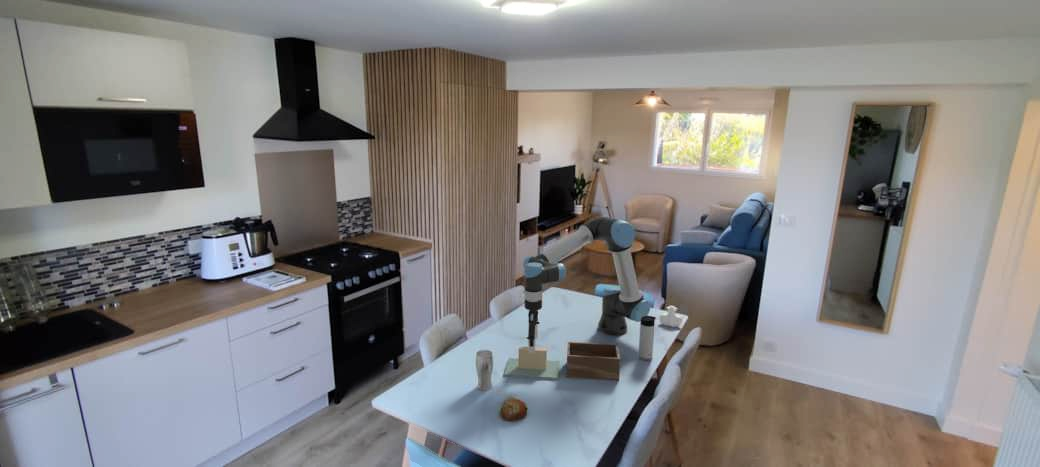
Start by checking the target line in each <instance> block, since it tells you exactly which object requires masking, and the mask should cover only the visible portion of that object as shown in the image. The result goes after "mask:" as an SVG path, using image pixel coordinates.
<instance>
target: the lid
mask: <svg viewBox="0 0 1040 467" xmlns="http://www.w3.org/2000/svg"><path fill="white" fill-rule="evenodd" d="M547 352H548V351H547V347H538V346H537V347H536V346H535V353H529V346H523V345H522V346H518V358H515V357H513V358H512V357H509V358H508V360H507V364H506V366H505V370H504V373H503V377H505V376H511V377H510V378H519V377H521V378H522V379H533V380H534V379H535V380H547V381H548V380H550V381H559V374H558V373H559V371H560V361H559V360H548V359H547Z"/></svg>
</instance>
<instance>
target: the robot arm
mask: <svg viewBox="0 0 1040 467" xmlns="http://www.w3.org/2000/svg"><path fill="white" fill-rule="evenodd" d="M635 238H636V230H635V228H634V226H633V225H632V224H631V223H630V222H628V221H626V220H624V219H623V220H622V219H616V218H615V219H614V218H612V217H608V216H599V217H596V218H593V219H591V220H589V221H587V222H585V223H584V224H581V225H580V226H579V228H578V230H576V231H574V232H573V233H571V234H570V235H568V236H566V237H565V238H563V239H561V240H560V241H558V242H557V243H555V244H553V245H552V246H550V247H549V248H547V249H545V250H544V251H542V252H541V253H539V254H537V255H536V256H534V255H533V256H532V255H529V256H526V257H525V258H524V261H523V263H522V266H523V269H524V270H523V271H524V272H523V277H524V280H523V281H524V284H523V285H524V288H523V289H524V291H522V293H523V295H524V302H523V303H524V306H523V307H524V308H525V309H526V310H527V311H528V313H527V315H528V333H527V335H528V336H526V340H528V345H527V346H528V347H529V353H535V347H536V340H538V338H539V335H538V334H539V333H538V331H539V330H538V329H539V328H538V327H539V326H538V325H540V321H539V319H538V318H539V311H540V310H541V309H542V308H543V285H545V284H550V283H556V282H559V281H563V280H565V278H566V277H567V269H566V266H565V265H564V264H563V263H560V261H561V260H563V259H564V258H566V257H569V255H571V254H572V253H574V252H575V251H578V250H579V249H581V248H582V247H584V246H585V245H587V244H593V243H594V242H597V241H601V242H603V243H605V244H606V247H607V251H608V252H610V253H611V254H612V260H613V263H614V269H615V271H616V276H617V281H618V285H610V286H606V287H604V288H603V290H602V291H603V292H602V301H601V302H602V305H601V316H600V318H599V320H598V324H597V329H598V331H600V332H601V333H604V334H607V335H612V336H613V335H615V336H617V335H624V334H626V333H627V332H628V324H627V320H626V318H627V319H628V320H631V321H633V322H636V323H637V322H638V323H639V322H640V323H641V318H642V317H643V316H649V313H650V310H651V302H650V301H649V300H648V299H645V298H644V293H643V291H642V290H641V289H639V286H638V285H639V284H638V280H637V276H636V270H635V266H634V262H633V258H632V252H631V248H632V247H633V244H634V242H635Z"/></svg>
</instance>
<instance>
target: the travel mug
mask: <svg viewBox="0 0 1040 467" xmlns="http://www.w3.org/2000/svg"><path fill="white" fill-rule="evenodd" d="M656 320H657V317H656V316H652V315H647V316H643V317H642V318H641V321H640V326H639V340H638V342H639V343H638V358H639V359H640V360H642V361H651V360H653V356H654V355H653V353H654V352H653V351H654V338H655V325H656V324H655V322H656Z"/></svg>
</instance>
